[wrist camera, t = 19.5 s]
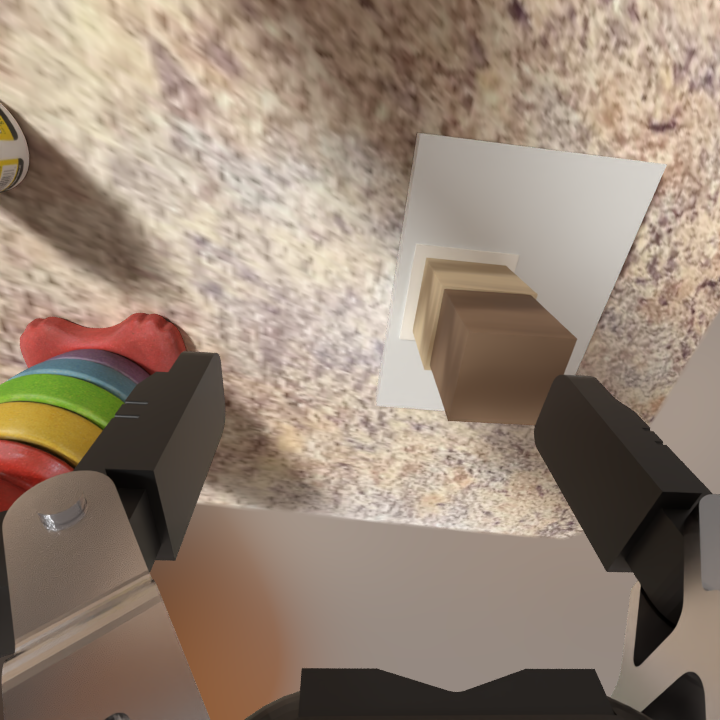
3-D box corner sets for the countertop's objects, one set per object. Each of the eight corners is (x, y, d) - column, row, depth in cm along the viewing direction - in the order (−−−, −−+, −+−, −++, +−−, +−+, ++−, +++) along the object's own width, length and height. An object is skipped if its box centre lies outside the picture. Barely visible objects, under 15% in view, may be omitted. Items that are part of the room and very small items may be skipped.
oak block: (426, 257, 25) (442, 285, 21) (505, 265, 25) (537, 294, 21) (412, 331, 28) (424, 369, 23) (485, 337, 28) (510, 376, 24)
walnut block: (444, 288, 21) (469, 332, 17) (530, 294, 21) (577, 338, 17) (429, 364, 23) (448, 420, 19) (507, 369, 23) (543, 425, 19)
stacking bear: (176, 309, 28) (-37, 538, 13) (209, 426, 33) (86, 692, 18) (17, 316, 28) (-392, 554, 13) (74, 432, 33) (-167, 703, 18)
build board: (417, 132, 23) (421, 133, 22) (653, 162, 24) (669, 164, 23) (375, 396, 32) (376, 407, 31) (549, 410, 33) (556, 421, 32)
